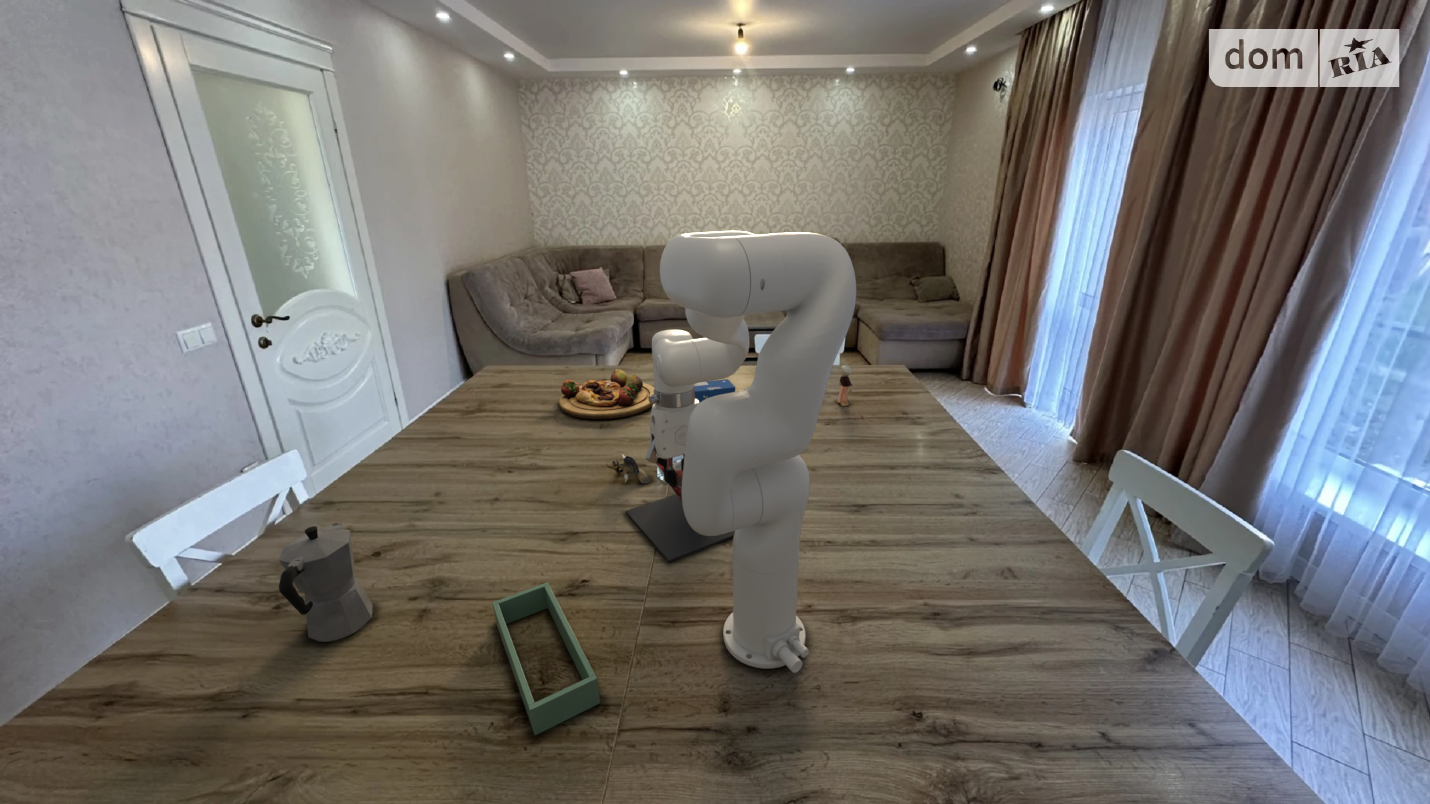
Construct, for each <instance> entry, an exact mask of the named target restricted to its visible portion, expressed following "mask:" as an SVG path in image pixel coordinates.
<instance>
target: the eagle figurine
mask: <svg viewBox="0 0 1430 804" xmlns="http://www.w3.org/2000/svg"><path fill="white" fill-rule="evenodd" d="M620 455H621V457H622V460H623V463H620V461H619V460H618V459H617V458H615V460H616V461H615V460H613V461H612V462H611V465H610V464H608V463H606V465H605V466H606V467H607V468H609V469H612V470H614V471H615V472H616V474H617V476H620V475H621V473H623V478H624V484H627V482H628V481H629V475H630V474H632V475H634V476H635V477H636V478H638V480H639V482H640V483H641V484H649V483H650V482H651V480H652V479H651V475H650V474H649V473H648V472H647V471H646V470H645V469H643V468H641V467H639V465H638V463H637V461H636V460H635V459H634V457H632V456H629V455H627V456H626V455H624V454H623V453H621V454H620Z"/></svg>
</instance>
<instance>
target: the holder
mask: <svg viewBox="0 0 1430 804" xmlns="http://www.w3.org/2000/svg"><path fill="white" fill-rule="evenodd" d="M491 605H492V609H493V614H494V620H495V624H496V627H497V630H498V633H499V636H500V639H501V641H502V645H503V647H504V650H505V653H506V656H507V660H508V663H509V664H510V668H511V671H512V674H513V677H514V679H515V683H516V686H517V687H518V688H517V689H518V692H519V694H520V697H521V699H522V702H523V705H524V709H525V711H526V714H527V717H528V720H529V723H530V726H531V728H532V731H533V735H534V736H537V735H539V734H542V733H543V732H546V731H547V730H550V729H551V728H553V727H556V726H557V725H559V724H561V723H563V722H565V721H568V720H569V719H571V718H573V717H575V716H577V715H579V714H581V713H583V712H585V711H587V710H589V709H591V708H593V707H596V706H597V705H599V704H601V698H600V697H601V696H600V691H599V689H600V688H599V682H598V678H597V675H596V674H595V672H594V670H593V668H592V666H591V664H590V662H589V660H588V657H587V656H586V654H585V652H584V650H583V648H582V646H581V644H580V641H578V639H577V636H576V634H575V632H574V630H573V629H572V627H571V625H570V623H569V621H568V619H567V617H566V615H565V613H564V611H563V609H562V607H561V606H560V604H559V602H558V599H557V598H556V595H555V594H554V592H553V589H552V588H551V586H550V584H549V582H548V581H546V582H544V583H542V584H539V585H536V586H533V587H530V588H528V589H525V590H523V591H519V592H516V593H515V594H511V595H509V596H505V597H503V598H500V599H498V600H495V601H493V602H491ZM544 610H548V612H549V614H550V616H551V618H552V620H553V621H554V624H555V626H556V628H557V630H558V632H559V635H560V637H561V639H562V641H563V644H564V645H565V647H566V649H567V651H568V653H569V655H570V657H571V660H572V661H573V664H574V666H575V668H576V669H577V672H578V675H579V676H580V678H581V680H580V681H578V682H576V683H574V684H571V685H569V686H567V687H565V688H562V689H561V690H559V691H556V692H554V693H552V694H550V695H548V696H545V697H544V698H541V699H539V700H538V701H535V700H534V697H533V695H532V691H531V689H530V686H529V683H528V680H527V678H526V676H525V672H524V670H523V668H522V667H523V666H522V665H521V661H520V659H519V656H518V654H517V650H516V648H515V645H514V642H513V640H512V637H511V634H510V631H509V628H508V626H507V625H508V624H511V623H513V622H515V621H518V620H520V619H524V618H526V617H529V616H531V615H533V614H536V613H539V612H541V611H544Z"/></svg>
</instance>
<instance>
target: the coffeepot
mask: <svg viewBox="0 0 1430 804" xmlns="http://www.w3.org/2000/svg"><path fill="white" fill-rule="evenodd" d="M343 526H344V522H340V523H339V522H334V523H331V524H328V525H326V526H324V527H323V528H321V529H318V526H315V525H313V526H308V527H307V528H305V529H304V534H303V535H301V536H299V537H298V538H296V539H294V540H293V541H291V542H289V543H287V544H286V545H284V546H283V547H282V550H281V552H280V555H279V559H278V561H279V562H280V564H281V565H282V567H283V568H284V570H283V571H282V573H281V574H280V579H279V584H278V591H279V593H280V594H281V595H282V596H283V597H284V598H285V600H287V602H289V604H290V605H292V607H293V608H294V609H295V610H296V611H297V612H298V613H299V614H300V615H302V616H305V617H306V626H307V636H308V638H309V639H311V640H314V641H316V642H320V643H328V642H335V641H338V640H341V639H345V638H347V637H349V636H351V635H353V634H354V633H355V634H356V633H357V632H358V631H360V630H361V629H363V628H364V627H365V626H366V625H367V624H368V622H369V621H370V620H371V619H372V618H373V606H374V605H373V602H372V600H371V599H370V598H369V596H368V594H367V592H366V591H365V589H364V588H363V586H362V583H361V582H360V580H359V579H358V578H357V577H355V559H354V551H353V542H352V541H353V540H352V534H351V533H352V532H351V530H350V529H345V528H343ZM294 585H295V586H294ZM297 590H298V591H297ZM298 592H299V593H302V594H304V598H303V597H302V596H300V594H299V593H298Z"/></svg>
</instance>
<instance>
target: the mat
mask: <svg viewBox="0 0 1430 804" xmlns="http://www.w3.org/2000/svg"><path fill="white" fill-rule="evenodd" d="M678 498H681V497H679V496H678V495H677V494H676V493H675V494H674V495H670V496H667V497H663V498H661V499H658V500H655V501H652V502H649V503H646V504H643V505H639V506H637V507H633V508H630V509H628V510H625V514H626V515H627V516H628V518H630V520H631V521H632V522H633V524H635V526H636V527H637V528H638V529H639V530H640V531H641V532H642V533H643V535H644V536H645V537H646V538H647V539H648V541H650V543H651V544H652V545H653V546H654V547H655V549H656V550H657V551H658V552H659V553H660V554H661V556H663V558H664V559H665V560H666V561H667V562H668V563H669V564H670V563H672V562H675V561H677V560H680V559H682V558H685V557H687V556H690V555H693V554H695V553H697V552H701V551H703V550H705V549H708V548H710V547H713V546H715V545H718V544H720V543H723V542H726V541H728V540H730V539H733V538H734V533H735V531H732V532H728V533H725V534H721V535H716V536H704V535H701V534H699V533H697V532H696V531H694V530H693V529H692V527H691V526H690V525H689V523H688V521H687V519H686V517H685V514H684V510H683V505H682V502H681V501H680V499H678Z"/></svg>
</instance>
